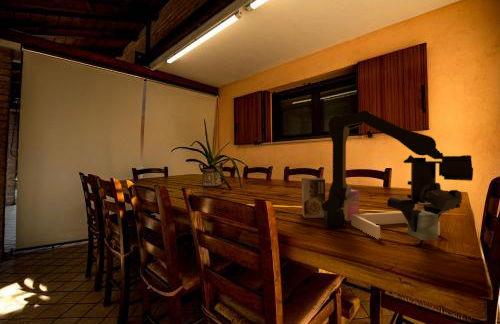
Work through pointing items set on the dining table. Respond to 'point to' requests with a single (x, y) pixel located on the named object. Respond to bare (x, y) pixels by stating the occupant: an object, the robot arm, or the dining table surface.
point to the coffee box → (313, 197)
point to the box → (352, 205)
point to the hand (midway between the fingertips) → (422, 231)
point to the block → (426, 226)
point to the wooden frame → (378, 221)
